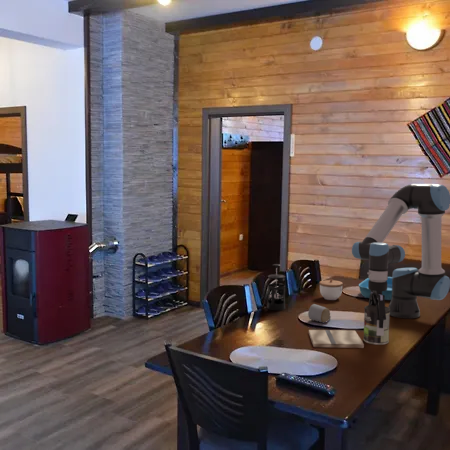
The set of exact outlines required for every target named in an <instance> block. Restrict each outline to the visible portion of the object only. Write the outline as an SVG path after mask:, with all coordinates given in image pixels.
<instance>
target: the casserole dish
mask: <svg viewBox="0 0 450 450" xmlns="http://www.w3.org/2000/svg"><path fill="white" fill-rule="evenodd" d="M369 280H370V279H369V277H367V278H365V279H364V280H362V281H361V282H360V283H358V287H359V291H360V294H361V296H362V297H364V298H365V299H370V293H371V290H370V289H369V288H368V281H369ZM386 281H387V290H386V291H382V295H384V296H385V301H391V299H392V276H388V280H386Z"/></svg>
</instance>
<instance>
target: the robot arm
mask: <svg viewBox="0 0 450 450" xmlns="http://www.w3.org/2000/svg"><path fill="white" fill-rule="evenodd" d="M387 202H388V203H387V204H388V205H387V206H386V208H385V209H384V211H383V212H382V213H381V215H380V216H379V217H378V219H377V220H376V222H375V223H374V225H373V226H372V227H371V229H370V230H369V232H368V233H367V234H366V236H365V237H364V239H363V240H362V241H356V242H354V243H353V245H352V247H351V255H352V256H353V257H354V258H355V259H359V260H363V261H365V260H366V261H368V271H367V275H368V278H369V279H370V280H369V281H368V288H369V289H370V290H371V293H370V298H368V299H369V300H368V305H376V309H377V316H378V318H376V320H377V336H384V320H386V312H385V306H386V303H385V302H386V300H385V296H384V295H382V291H386V290H387V281H386V280H388V277H389V276H388V275H389V274H388V273H389V269H388V268H389V265H393V264H398V263H400V262H402V261H404V259H405V258H406V252H405V249H404V248H403V247H402V246H401V245H398V244H392V245H389V243H385V242H384V241H386V240H385V239H386V238H387V237H388V235H389V234H390V232H391V231H392V230H393V228H394V227H395V226H396V224H397V223H398V221H399V220H400V218H401V217H402V216H403V214H406V213H407V212H408V211H409V210H413V209H414V210H417V214H418V215H419V217H421V267H420V268H419V269H418V268H417V267H400V268H396V269H395V268H394V270H393V271H392V276H391V277H392V299H391V300H390V302H389V305H388V306H387V307H388V308H390V315H389V316H391V317H394V318H397V319H398V318H399V319H416V318H420V316H421V311H420V307H419V304H418V300H417V298H418V297H420V298H423V299H429V300H434V301H435V300H436V301H442V300H443V299H445V298H446V297H447V295H448V293H449V291H450V277H449V276H447V275H446V270H445V269H443V267H442V217H443V216H444V215H445V214H446V211H447V210H448V209H449V208H450V191H449V189H448V188H447V187H446V186H445V185H443V184H436V183H411V184H410V183H409V184H408V185H405V186H403V187H402V188H400V189H399V190H397V191H396V192H395V193H394V194H393V195H392V196H391V197H390V198H389V200H388V201H387ZM381 316H382V317H381Z"/></svg>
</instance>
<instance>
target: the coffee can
mask: <svg viewBox="0 0 450 450" xmlns="http://www.w3.org/2000/svg"><path fill="white" fill-rule="evenodd" d="M388 307H389V306H386V305H385V312H386V320H384V336H377V320H376V318H378V316H377V309H376V305H369V304H368V305H365V306H364V307H363V308H364V311H363V312H364V317H363V320H364V321H363V340H362V341H364V342H365V343H367V344H370V345H376V346H377V345H378V346H382V345H386V344H387V345H388V344H389V342H390V339H389V336H390V335H389V334H390V316H391V315H390V308H388ZM381 317H382V316H381Z"/></svg>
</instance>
